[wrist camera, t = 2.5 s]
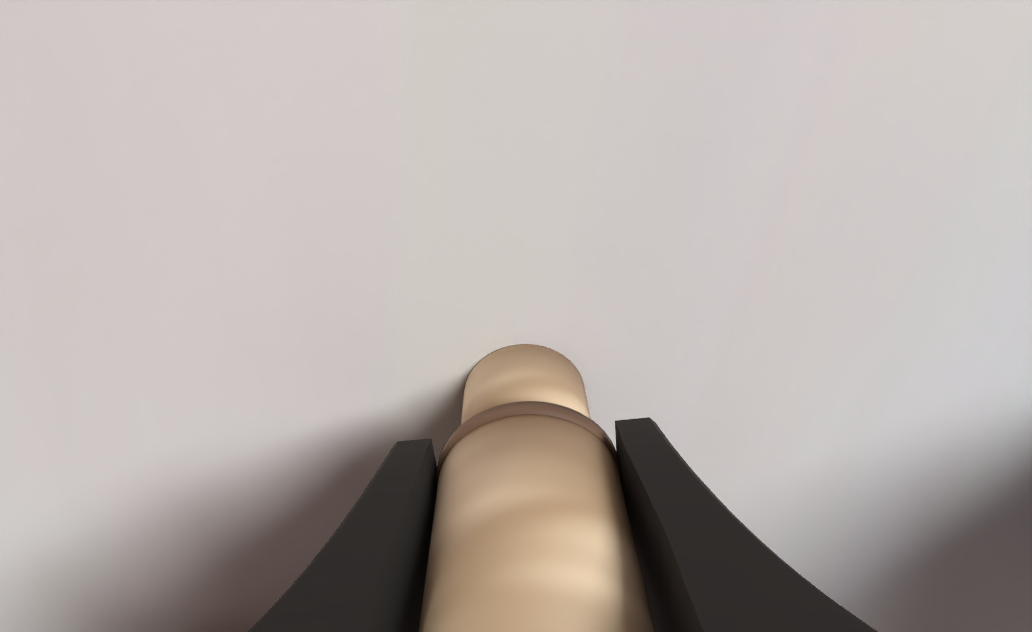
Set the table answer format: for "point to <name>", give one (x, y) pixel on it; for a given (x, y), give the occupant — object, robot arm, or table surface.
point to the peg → (531, 509)
